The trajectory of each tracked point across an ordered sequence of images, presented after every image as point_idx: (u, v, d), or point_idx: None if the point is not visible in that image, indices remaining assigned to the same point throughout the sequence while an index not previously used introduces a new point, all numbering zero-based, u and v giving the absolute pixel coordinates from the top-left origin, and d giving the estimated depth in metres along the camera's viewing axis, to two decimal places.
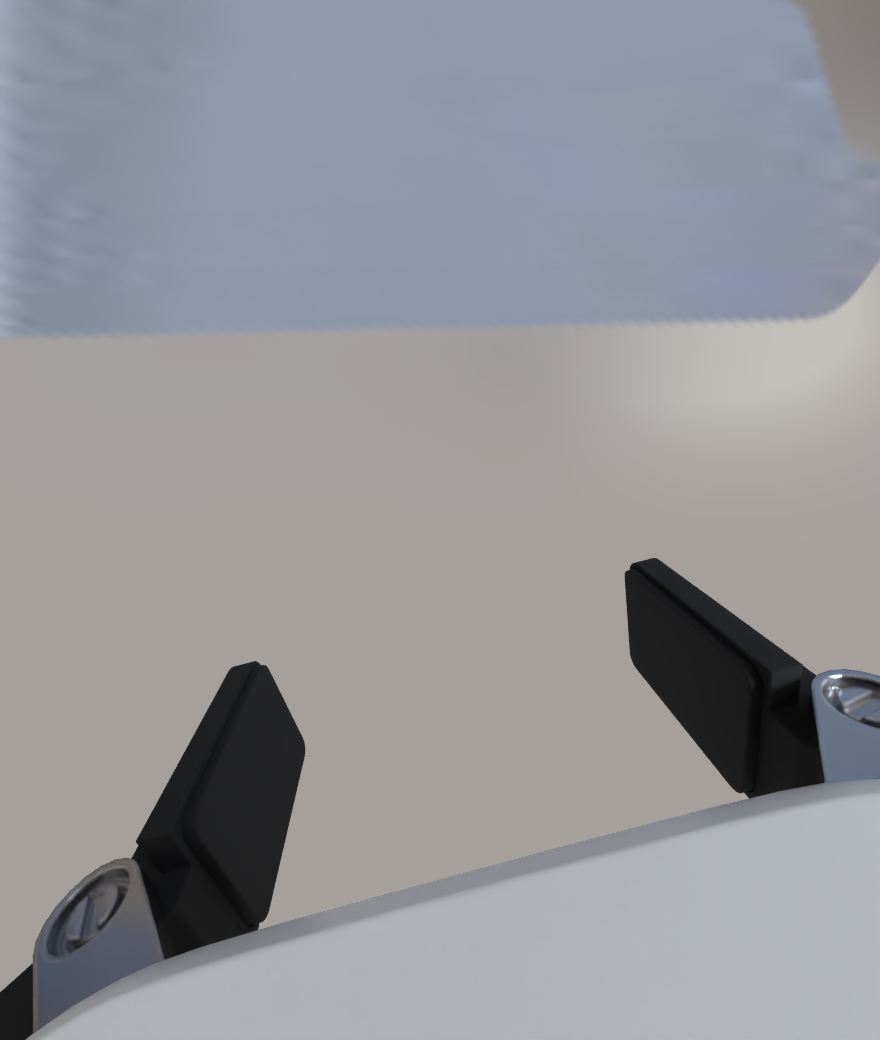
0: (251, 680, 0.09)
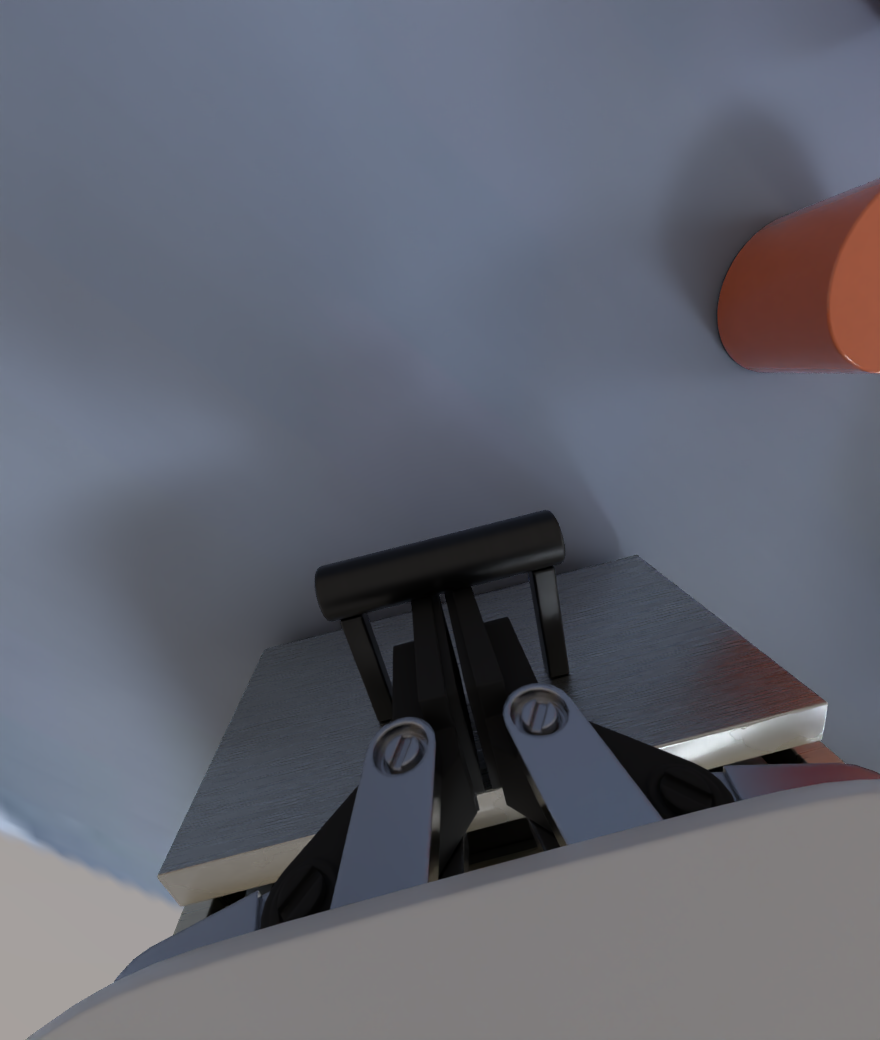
0: (436, 601, 0.10)
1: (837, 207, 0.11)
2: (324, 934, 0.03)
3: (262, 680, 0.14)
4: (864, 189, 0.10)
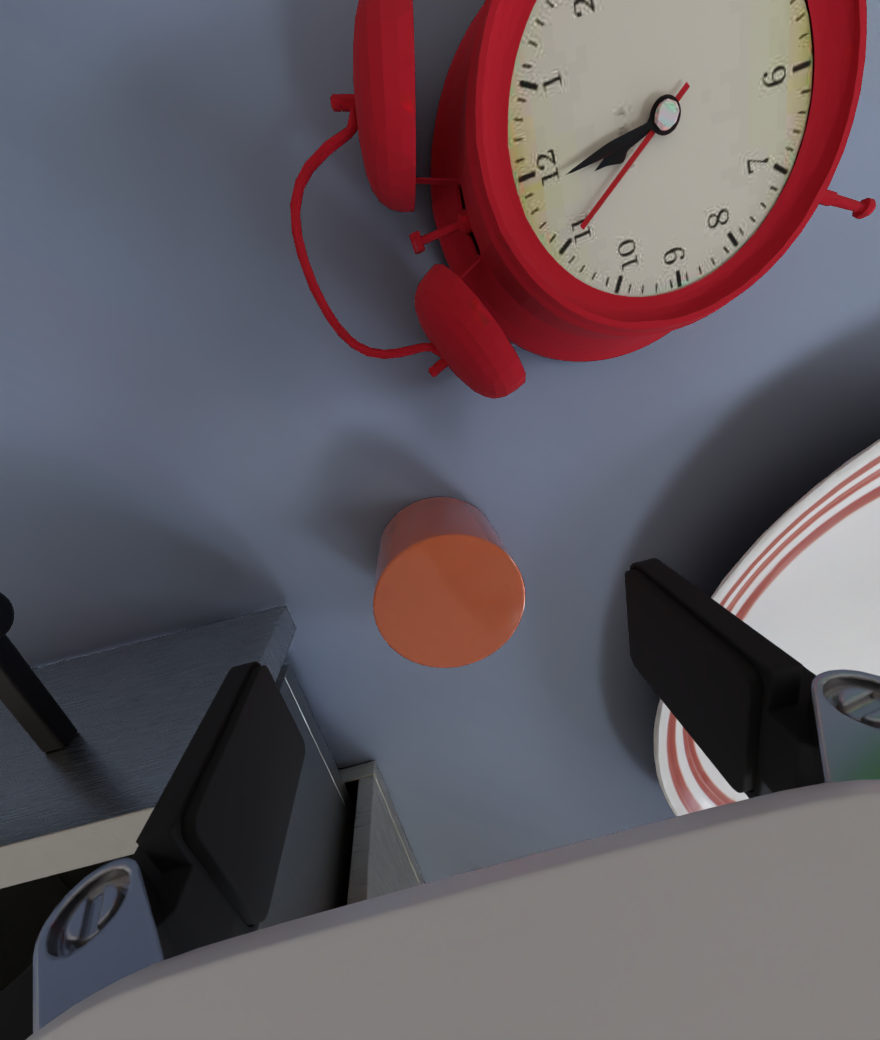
0: (251, 680, 0.09)
1: (391, 548, 0.13)
2: (324, 934, 0.03)
3: None
4: (400, 543, 0.13)
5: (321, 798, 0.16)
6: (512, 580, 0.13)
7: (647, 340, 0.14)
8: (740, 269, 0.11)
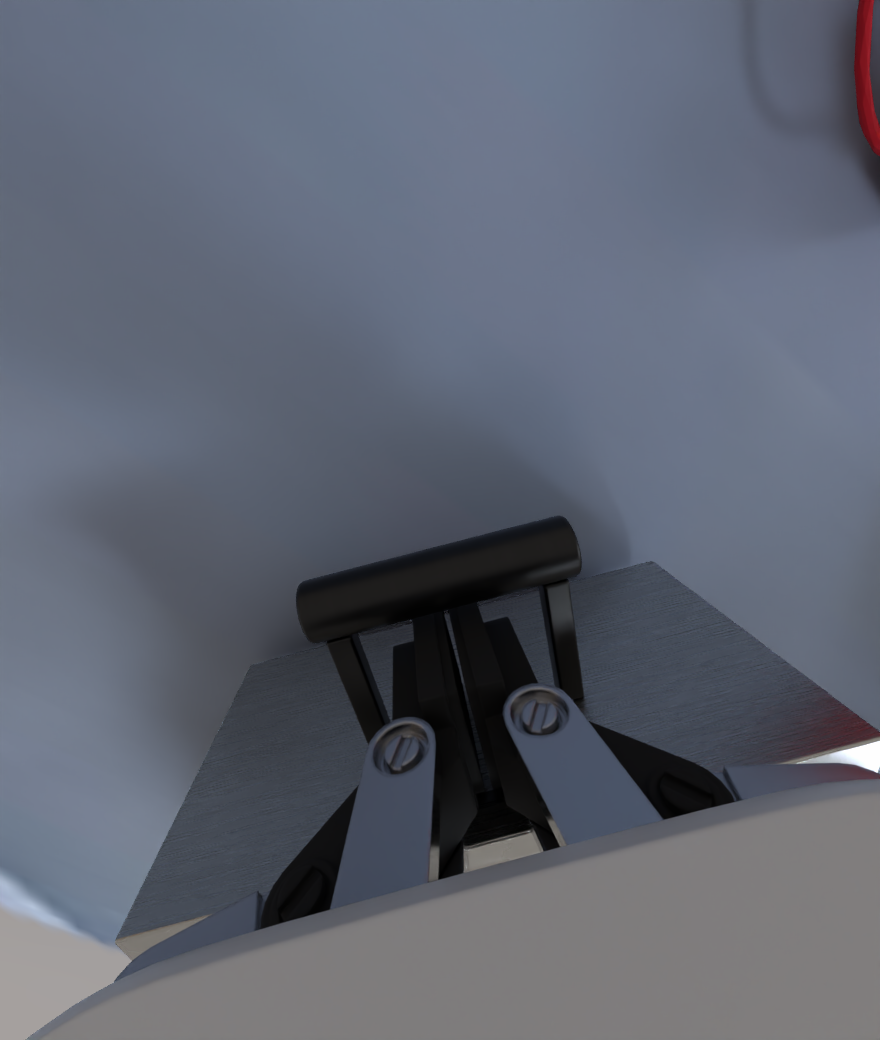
0: None
1: None
2: (324, 934, 0.03)
3: (246, 701, 0.13)
4: None
5: None
6: None
7: None
8: None
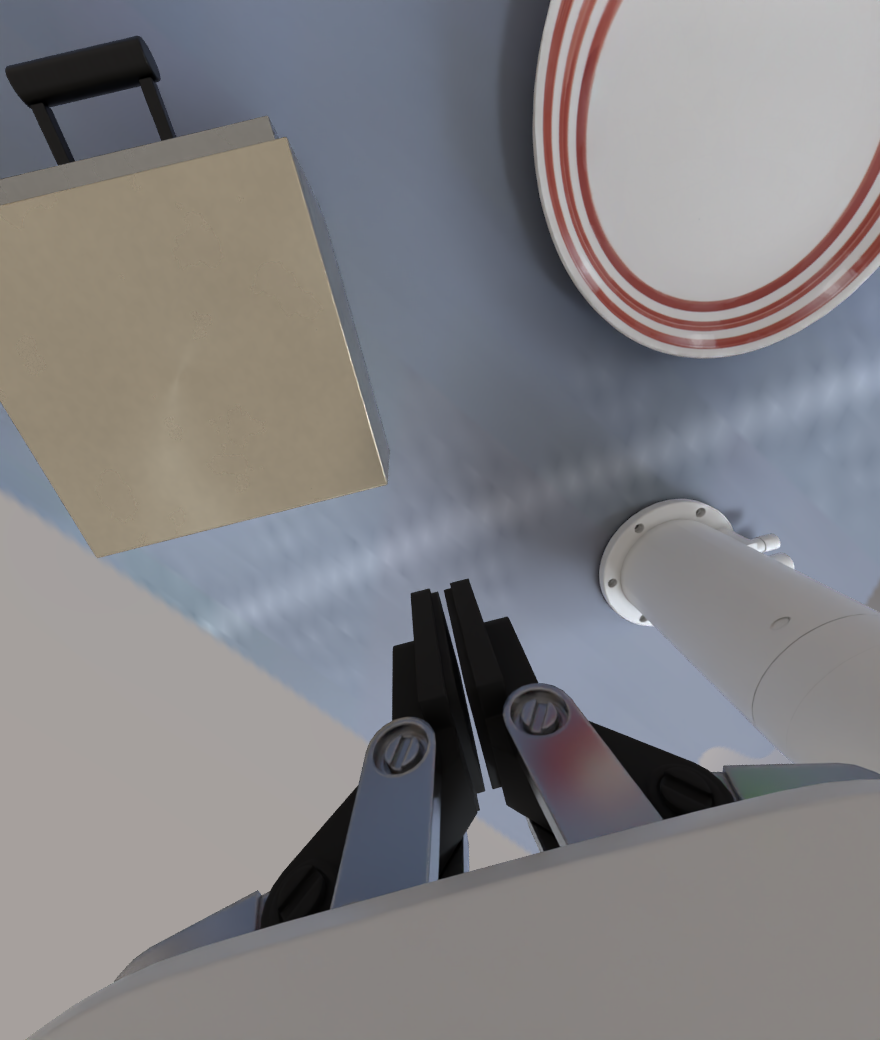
0: (436, 601, 0.10)
1: None
2: (324, 934, 0.03)
3: None
4: None
5: None
6: None
7: None
8: None
